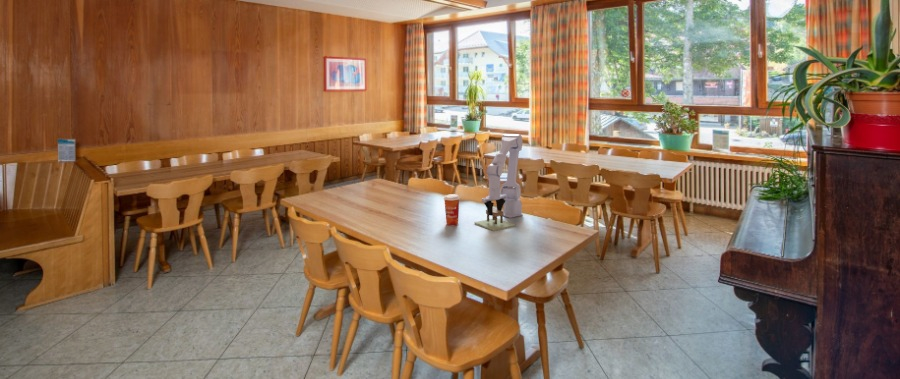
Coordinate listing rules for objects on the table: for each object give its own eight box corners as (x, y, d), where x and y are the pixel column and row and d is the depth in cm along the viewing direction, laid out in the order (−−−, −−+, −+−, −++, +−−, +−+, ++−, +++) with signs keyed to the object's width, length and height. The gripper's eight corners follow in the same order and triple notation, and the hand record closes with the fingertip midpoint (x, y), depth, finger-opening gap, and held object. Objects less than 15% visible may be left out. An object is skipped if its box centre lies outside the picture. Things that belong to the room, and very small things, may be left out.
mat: (495, 219, 255) (495, 217, 255) (515, 226, 242) (515, 224, 242) (474, 223, 248) (474, 222, 248) (493, 231, 235) (493, 229, 234)
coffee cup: (441, 225, 247) (440, 196, 244) (449, 221, 254) (448, 193, 251) (456, 227, 243) (455, 198, 240) (463, 222, 250) (462, 194, 247)
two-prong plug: (503, 222, 243) (503, 211, 241) (495, 224, 240) (495, 213, 239) (493, 219, 249) (493, 208, 248) (486, 221, 246) (486, 209, 245)
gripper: (500, 184, 248) (500, 210, 251) (478, 188, 240) (478, 214, 243) (509, 187, 242) (509, 213, 245) (486, 191, 234) (487, 217, 237)
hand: (494, 214), depth 244 cm, fingers closed on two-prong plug, 5 cm apart
